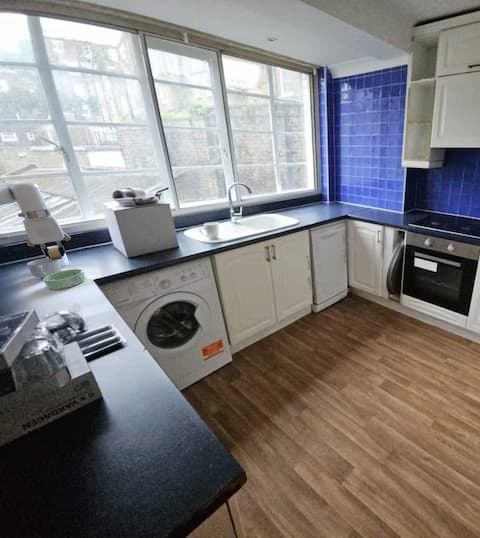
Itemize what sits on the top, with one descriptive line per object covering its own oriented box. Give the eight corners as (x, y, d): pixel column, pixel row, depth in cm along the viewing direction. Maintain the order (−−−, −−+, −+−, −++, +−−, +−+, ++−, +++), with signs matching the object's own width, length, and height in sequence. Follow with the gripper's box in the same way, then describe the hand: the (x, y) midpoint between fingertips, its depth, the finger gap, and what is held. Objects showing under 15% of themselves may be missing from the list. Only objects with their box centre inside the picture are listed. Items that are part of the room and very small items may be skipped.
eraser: (61, 258, 125) (57, 249, 124) (51, 260, 124) (47, 251, 122) (63, 255, 130) (59, 246, 128) (53, 256, 128) (49, 248, 126)
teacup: (41, 273, 146) (34, 258, 143) (69, 269, 150) (62, 255, 147) (25, 285, 134) (17, 268, 131) (56, 280, 138) (48, 264, 135)
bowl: (45, 293, 126) (40, 283, 124) (49, 283, 135) (45, 274, 134) (85, 284, 133) (81, 275, 132) (87, 275, 143) (83, 266, 141)
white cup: (46, 268, 153) (37, 250, 149) (62, 262, 160) (54, 245, 156) (58, 268, 152) (50, 250, 148) (74, 262, 159) (66, 245, 155)
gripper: (5, 219, 112) (28, 264, 119) (63, 212, 121) (81, 254, 129) (9, 216, 117) (31, 259, 124) (65, 210, 127) (82, 250, 134)
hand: (56, 256), depth 126 cm, fingers closed on eraser, 3 cm apart
